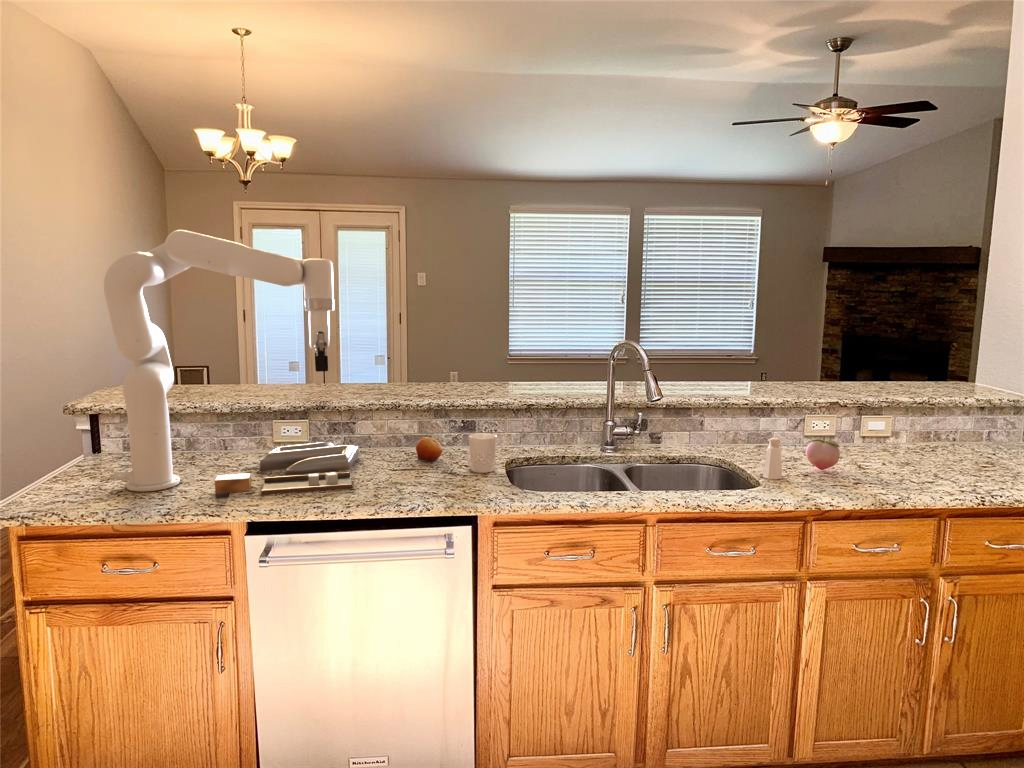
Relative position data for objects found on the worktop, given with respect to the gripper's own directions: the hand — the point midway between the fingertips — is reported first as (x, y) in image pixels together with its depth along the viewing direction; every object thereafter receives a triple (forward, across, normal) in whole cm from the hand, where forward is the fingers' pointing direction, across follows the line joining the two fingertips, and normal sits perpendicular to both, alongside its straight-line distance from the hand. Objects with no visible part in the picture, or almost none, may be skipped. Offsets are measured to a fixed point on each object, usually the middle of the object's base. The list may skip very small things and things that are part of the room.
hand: (321, 368), depth 189 cm
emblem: (+30, -10, -3) cm, 32 cm away
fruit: (+30, -9, +31) cm, 44 cm away
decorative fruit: (+30, +29, +140) cm, 146 cm away
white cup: (+30, +5, +44) cm, 53 cm away
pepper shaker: (+30, +32, +121) cm, 129 cm away
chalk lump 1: (+29, +12, -3) cm, 31 cm away
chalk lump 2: (+29, +12, +2) cm, 31 cm away
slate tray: (+30, +12, -4) cm, 32 cm away
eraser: (+30, +12, -22) cm, 39 cm away
